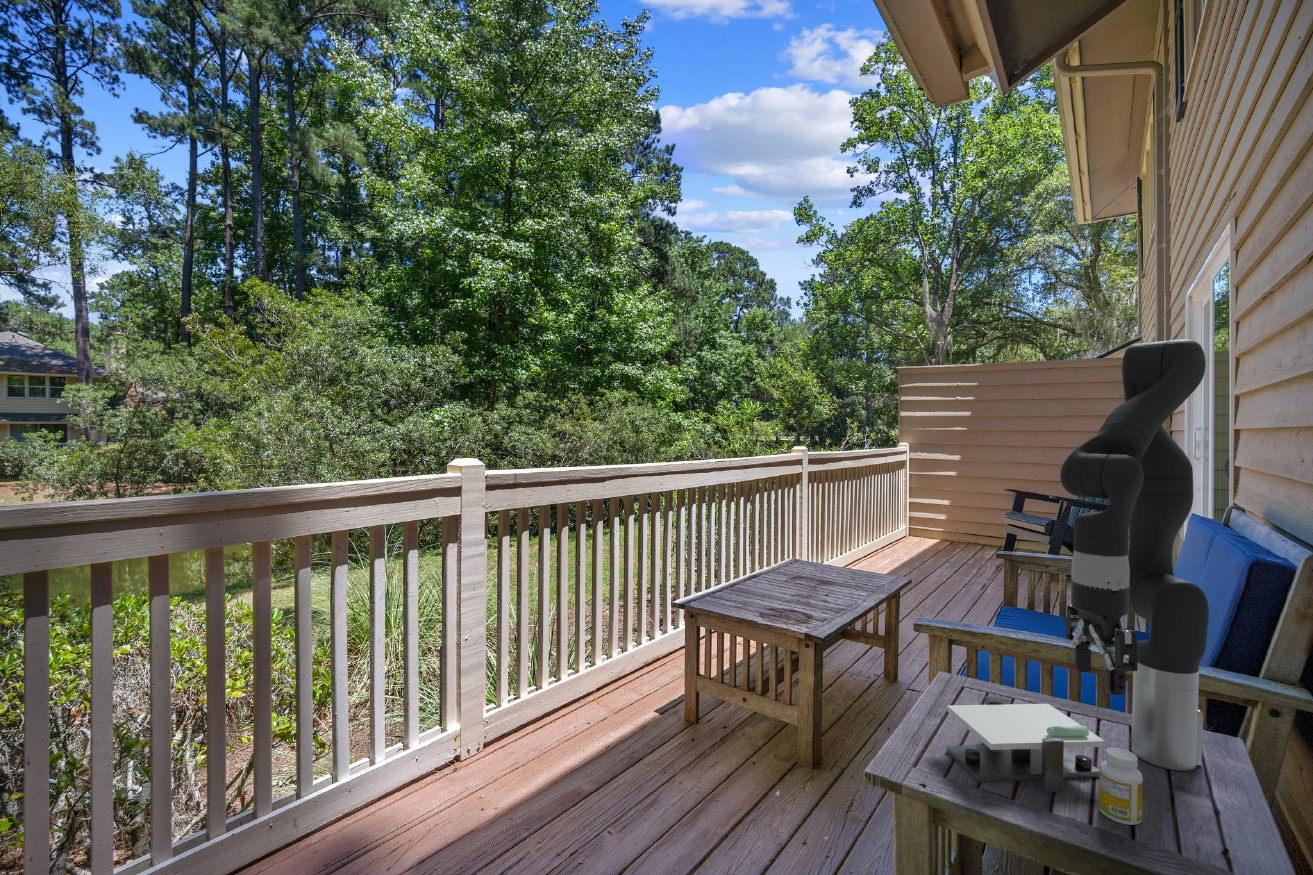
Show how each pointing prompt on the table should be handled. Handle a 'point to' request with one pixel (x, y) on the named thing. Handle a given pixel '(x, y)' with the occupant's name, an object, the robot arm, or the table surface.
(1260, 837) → the table surface
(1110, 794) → the supplement bottle
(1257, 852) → the table surface
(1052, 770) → the base
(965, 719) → the levelling plate
